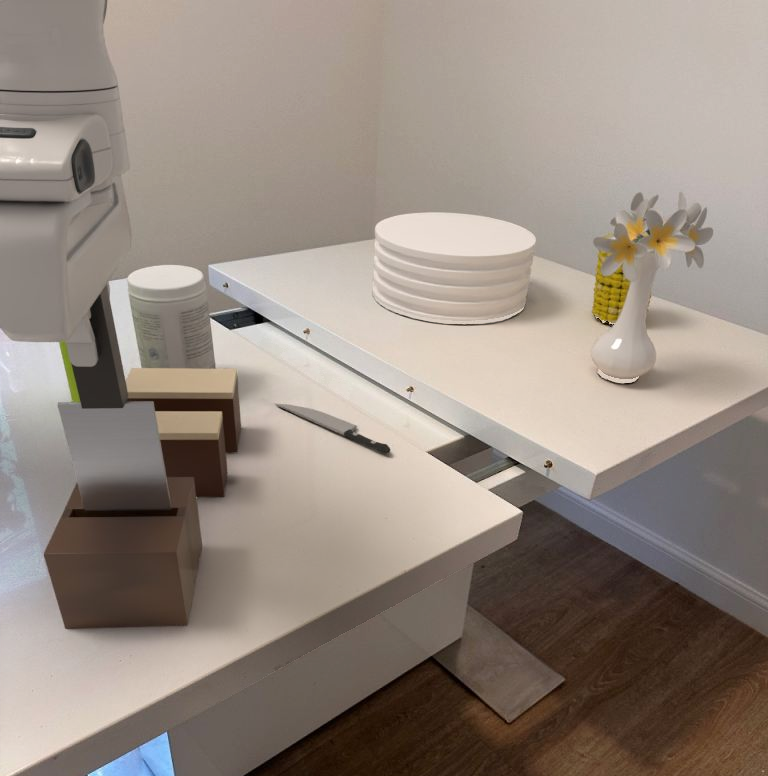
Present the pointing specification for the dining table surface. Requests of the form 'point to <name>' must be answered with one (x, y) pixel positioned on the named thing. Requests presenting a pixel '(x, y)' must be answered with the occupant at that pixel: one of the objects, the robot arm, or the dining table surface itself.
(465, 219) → the plate stack
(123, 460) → the knife
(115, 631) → the dining table surface
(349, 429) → the chef's knife
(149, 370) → the cake
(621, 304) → the food
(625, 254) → the flower vase
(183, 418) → the cake slice
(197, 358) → the supplement tub
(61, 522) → the knife block
